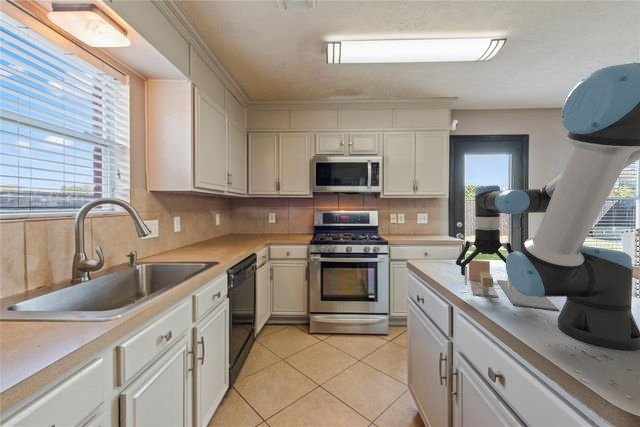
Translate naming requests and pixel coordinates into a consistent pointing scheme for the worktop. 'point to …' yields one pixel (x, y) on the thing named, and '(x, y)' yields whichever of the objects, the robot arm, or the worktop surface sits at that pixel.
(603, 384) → the worktop surface
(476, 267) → the terracotta tile
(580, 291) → the robot arm
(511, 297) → the rubber mat
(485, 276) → the steel trowel
